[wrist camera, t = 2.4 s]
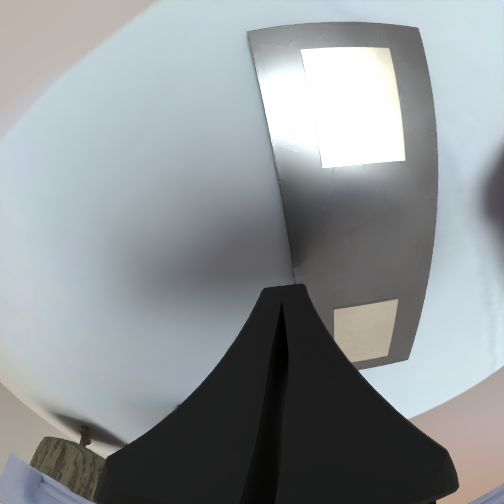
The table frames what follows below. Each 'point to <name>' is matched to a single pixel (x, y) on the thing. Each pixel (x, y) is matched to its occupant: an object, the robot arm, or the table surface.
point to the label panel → (355, 174)
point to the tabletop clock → (70, 463)
